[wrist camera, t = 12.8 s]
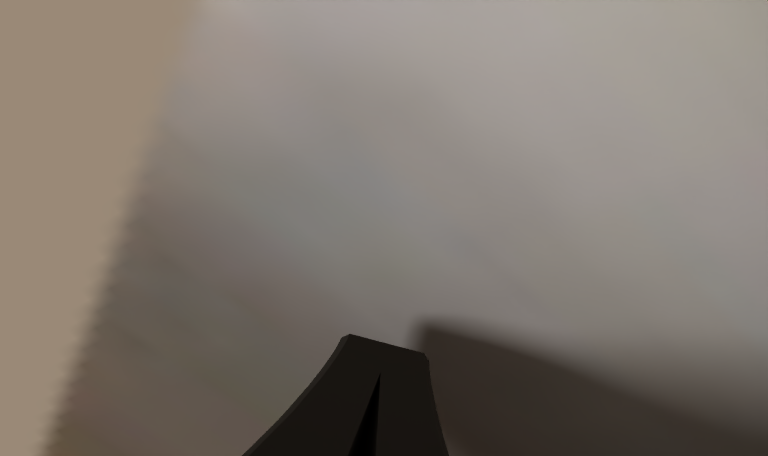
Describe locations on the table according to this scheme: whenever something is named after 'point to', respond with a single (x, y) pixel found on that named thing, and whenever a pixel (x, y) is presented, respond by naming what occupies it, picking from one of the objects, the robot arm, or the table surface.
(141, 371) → the table surface
